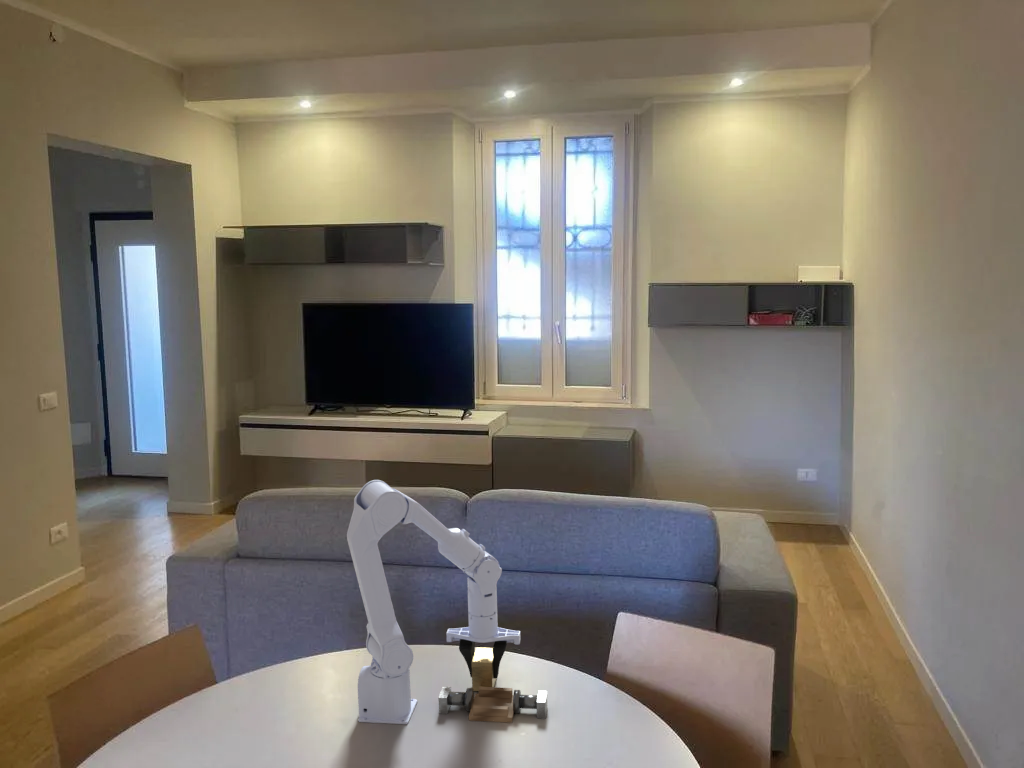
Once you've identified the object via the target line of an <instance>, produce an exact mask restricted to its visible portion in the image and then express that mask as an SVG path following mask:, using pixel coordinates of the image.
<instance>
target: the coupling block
mask: <svg viewBox="0 0 1024 768" xmlns="http://www.w3.org/2000/svg"><path fill="white" fill-rule="evenodd" d="M492 649H493V647H475V653H474V656H473V659H472V662H471V663H472V677H471V688H473V689H474V692H479V687H495V683H496V681H497V678H494V675H493V671H494V660H493V651H492Z"/></svg>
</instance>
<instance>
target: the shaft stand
mask: <svg viewBox="0 0 1024 768" xmlns="http://www.w3.org/2000/svg"><path fill="white" fill-rule="evenodd" d="M537 691H538V693H537V694H522V693H521V692H522V691H521V690H520V689H514V690H513V687H498V686H497V687H495V686H494V687H479V691H478V693H475V691H474V689H473V688H472V687H467V688H466V690H465V691H452V686H442V688H441V690H440V693H439V695H438V714H439V715H448V713H449V711H450V708H451V706H458V707H459V706H461V707H464V709H465V711H467V712H468V711H469V714H468V721H470V722H471V721H472V722H491V723H492V722H493V723H496V722H497V723H511V724H512V723H513V720H514V716H515V715H514V714H519V713H521V709H526V710H527V709H528V710H536V719H545V720H546V718H547V711H548V690H537Z"/></svg>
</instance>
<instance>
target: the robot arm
mask: <svg viewBox="0 0 1024 768" xmlns="http://www.w3.org/2000/svg"><path fill="white" fill-rule="evenodd" d="M399 523H401V524H402V525H407V524H410V523H412V524H414V525H415V526H416V527H418V528H419V529H420V530H421V531H423V532H424V533H426V535H429V536H430V537H431V538H432V539H433V540H435V541H436V542H437V551H438V553H440V554H441V555H442V556H443V557H444V558H446V559H447V560H449V562H451V563H452V564H453V565H455V566H456V567H457V568H458V569H460V570H461V571H462V572H463V574H466V575H467V577H466V579H467V580H466V581H467V582H466V583H467V608H468V609H467V611H468V612H467V615H468V626H466V627H465V626H464V627H456V628H447V631H446V633H445V634H446V643H452V642H455V641H456V642H457V641H458V642H459V645H458V651H459V652H460V653H461V655H462V657H463V659H464V660H465V663H466V665H467V668H468V672H469V674H470V675H469V676H470V678H472V663H471V662H472V659H473V656H474V653H475V650H476V643H480V644H481V643H493V646H492V648H493V649H492V651H493V660H494V671H493V675H494V678H496V679H498V676H499V672H500V670H499V669H500V664H501V660H502V658H503V657H504V654H505V651H506V649H507V645H508V643H510V644H511V643H512V644H514V645H516V646H517V645H520V644H521V640H522V639H521V630H513V629H507V628H503V627H499V626H498V625H499V624H498V622H499V621H498V592H497V591H498V589H497V587H498V586H497V583H498V581H499V579H500V577H501V576H502V573H503V568H502V567H500V562H499V561H498V559H497V558H495V557H494V556H493V555H492V554H490V553H489V552H488V551H486V546H484V545H483V544H482V543H479V544H478V543H477V542H475V541H474V540H473V539H472V538H471V537H470V535H471V533H470V532H468V530H466V529H465V528H461V529H460V528H458V527H452V528H448V527H446V526H445V525H444V524H443V523H442V522H441V521H440V520H438V519H437V518H436V517H435V516H434V515H433V514H432V513H431V512H429V510H427V509H426V508H425V507H424V506H422V504H420V503H419V502H417V501H416V500H414V499H413V498H411V497H410V496H409V495H406V494H405V493H403V492H401V491H400V490H398V489H396V488H394V487H391V486H390V485H389V484H388V483H387V482H385V481H383V480H380V479H373V480H370V481H367V482H366V483H365V484H364V485H363V486H362V487H361V489H360V490H359V491H358V493H356V495H355V497H354V498H353V511H352V514H351V517H350V519H349V524H348V529H347V531H346V540H347V544H348V549H349V552H350V555H351V560H352V564H353V568H354V571H355V574H356V575H355V576H356V580H357V583H358V586H359V588H358V589H359V590H360V596H361V599H362V603H363V606H364V610H365V614H366V619H367V624H366V630H367V631H366V632H367V636H366V641H365V646H366V650H367V652H368V653H369V655H371V656H372V658H371V663H370V665H363V666H362V667H361V668H360V671H359V675H358V679H357V700H358V719H357V721H358V722H359V723H374V724H392V725H393V724H394V725H408V724H409V723H410V719H411V718H412V715H413V713H414V711H415V708H416V706H417V704H418V699H416V698H412V696H411V695H412V693H411V671H410V668H411V666H412V664H413V661H414V653H413V650H412V648H411V647H410V645H408V644H407V642H406V641H405V637H404V634H403V631H402V630H401V628H400V627H401V626H399V623H398V621H397V617H396V615H395V614H396V613H395V610H394V606H393V602H392V599H391V598H392V597H391V593H390V589H389V586H388V585H389V584H388V582H387V578H386V574H385V570H384V565H383V561H382V557H381V553H380V550H379V549H380V548H379V545H378V543H379V541H380V540H381V539H382V538H383V536H384V535H386V534H387V533H388V532H389V531H390V530H392V529H393V528H394V527H396V525H398V524H399Z"/></svg>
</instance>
